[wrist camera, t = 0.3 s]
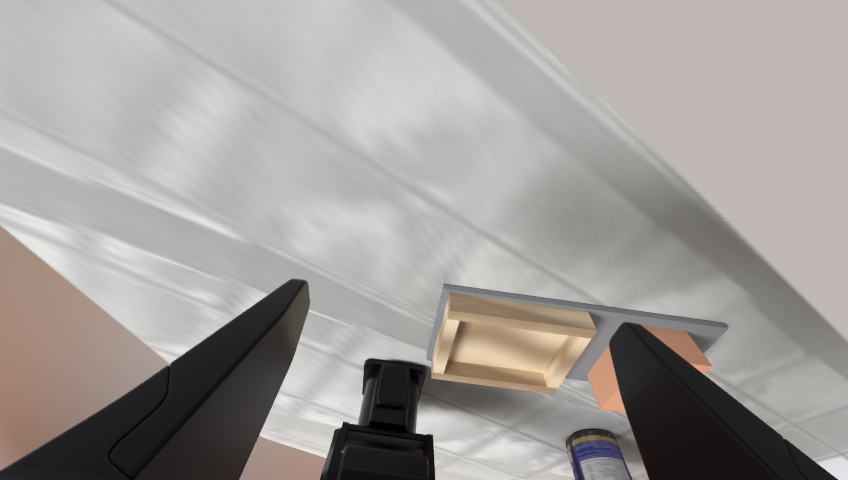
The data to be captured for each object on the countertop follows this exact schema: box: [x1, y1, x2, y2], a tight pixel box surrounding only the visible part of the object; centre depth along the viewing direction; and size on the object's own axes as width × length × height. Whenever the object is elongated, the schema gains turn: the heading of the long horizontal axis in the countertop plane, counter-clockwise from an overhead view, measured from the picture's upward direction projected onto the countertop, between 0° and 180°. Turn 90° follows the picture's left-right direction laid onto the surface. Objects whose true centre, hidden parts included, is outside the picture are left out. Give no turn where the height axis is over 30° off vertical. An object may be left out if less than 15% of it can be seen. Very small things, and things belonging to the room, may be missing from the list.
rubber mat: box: [427, 284, 729, 381], centre depth 31 cm, size 10×25×1 cm, turn 82°
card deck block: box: [587, 325, 713, 413], centre depth 30 cm, size 8×6×4 cm
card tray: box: [431, 292, 597, 394], centre depth 30 cm, size 10×12×2 cm
